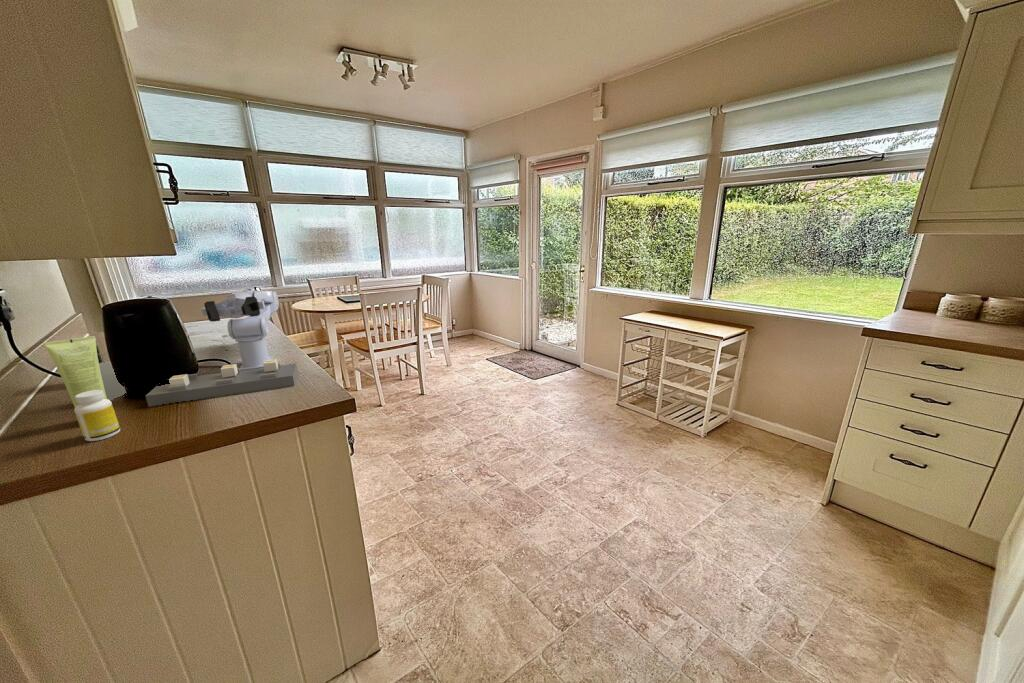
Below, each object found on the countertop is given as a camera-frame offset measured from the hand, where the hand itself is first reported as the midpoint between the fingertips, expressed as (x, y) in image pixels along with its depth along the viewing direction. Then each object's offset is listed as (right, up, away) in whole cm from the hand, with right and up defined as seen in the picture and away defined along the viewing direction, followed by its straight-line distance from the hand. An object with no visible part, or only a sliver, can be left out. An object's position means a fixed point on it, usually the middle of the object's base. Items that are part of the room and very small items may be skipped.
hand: (226, 313), depth 100 cm
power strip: (-3, -21, +5) cm, 21 cm away
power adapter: (-29, -23, -1) cm, 37 cm away
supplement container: (-46, -20, +10) cm, 51 cm away
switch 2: (+6, -16, +10) cm, 19 cm away
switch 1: (-11, -19, -1) cm, 22 cm away
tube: (-21, -26, -12) cm, 35 cm away
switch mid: (-3, -17, +6) cm, 18 cm away
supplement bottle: (-12, -28, -19) cm, 36 cm away
